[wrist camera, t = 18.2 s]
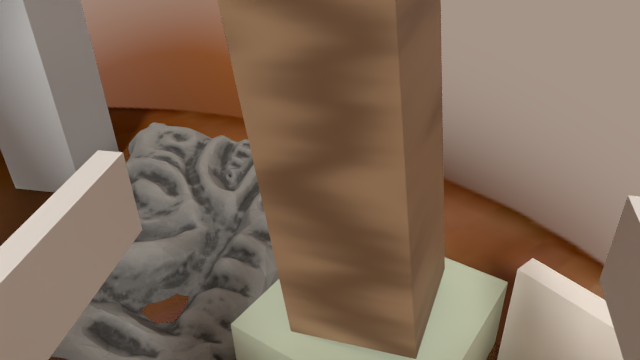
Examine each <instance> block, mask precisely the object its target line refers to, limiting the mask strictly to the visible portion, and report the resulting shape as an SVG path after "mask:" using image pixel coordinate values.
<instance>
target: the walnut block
mask: <svg viewBox="0 0 640 360" xmlns="http://www.w3.org/2000/svg"><path fill="white" fill-rule="evenodd" d="M218 5H219V9H220V14H221V19H222V23H223V27H224V32H225V36H226V41H227V45H228V50H229V55H230V59H231V64H232V68H233V73H234V77H235V82H236V86H237V91H238V95H239V100H240V104H241V108H242V113H243V118H244V122H245V127H246V131H247V136H248V140H249V145H250V149H251V154H252V158H253V163H254V167H255V172H256V176H257V181H258V185H259V190H260V194H261V199H262V203H263V208H264V212H265V217H266V221H267V226H268V230H269V235H270V239H271V244H272V248H273V253H274V257H275V262H276V266H277V271H278V275H279V280H280V284H281V289H282V293H283V298H284V302H285V307H286V311H287V316H288V320H289V325H290V329H291V331H292V332H297V333H301V334H305V335H310V336H314V337H319V338H323V339H328V340H332V341H337V342H341V343H346V344H350V345H355V346H359V347H364V348H368V349H372V350H377V351H381V352H386V353H390V354H395V355H399V356H404V357H408V358H413V359H416V358H417V355H418V352H419V348H420V345H421V342H422V339H423V336H424V333H425V329H426V326H427V323H428V320H429V317H430V314H431V311H432V307H433V304H434V301H435V298H436V295H437V292H438V288H439V285H440V282H441V279H442V276H443V273H444V270H445V249H444V188H443V128H442V66H441V6H440V0H218Z"/></svg>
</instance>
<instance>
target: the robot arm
mask: <svg viewBox="0 0 640 360" xmlns="http://www.w3.org/2000/svg"><path fill="white" fill-rule="evenodd" d="M141 231H142V227H141V223H140V219H139V215H138V211H137V207H136V203H135V199H134V195H133V191H132V187H131V183H130V179H129V175H128V171H127V167H126V163H125V159H124V155H123V152H112V151H101V150H98V151H97V152H96V153H95V154H94V155H93V156H92V157H91V158H90V159H89V160H88V161H86V162H85V163H84V164H83V165H82V166H81V167H80V168H79V169H78V170H77V171H76V172H75V173H74V174H73V175H72V176H71V177H70V178H69V179H68V180H67V181H66V182H65V183H64V184H63V185H62V186H61V187H60V188H59V189H58V190H57V191H56V192H55V193H54V194H53V195H52V196H51V197H50V198H49V199H48V200H47V201H46V202H45V203H44V204H43V205H42V206H41V207H40V208H39V209H38V210H37V211H36V212H35V213H34V214H33V215H32V216H31V217H30V218H29V219H28V220H27V221H26V222H25V223H24V224H23V225H22V226H21V227H19V228H18V229H17V230H16V231H15V232H14V233H13V234H12V235H11V236H10V237H9V238H8V239H7V240H6V241H5V242H4V243H3V244H0V360H48V359H49V358H50V357H51V355H52V354H53V353H54V351H55V350H56V348H57V347H58V346H59V344H60V343H61V341H62V340H63V339H64V337H65V336H66V335H67V333H68V332H69V330H70V329H71V328H72V326H73V325H74V324H75V322H76V321H77V319H78V318H79V317H80V315H81V314H82V312H83V311H84V310H85V308H86V307H87V306H88V304H89V303H90V301H91V300H92V299H93V297H94V296H95V295H96V293H97V292H98V290H99V289H100V288H101V286H102V285H103V283H104V282H105V281H106V279H107V278H108V277H109V275H110V274H111V272H112V271H113V270H114V268H115V267H116V266H117V264H118V263H119V261H120V260H121V259H122V257H123V256H124V254H125V253H126V252H127V250H128V249H129V248H130V246H131V245H132V243H133V242H134V241H135V239H136V238H137V236H138V235H139V234H140V232H141ZM599 281H600V284H601V287H602V290H603V294H604V297H605V300H606V304H607V307H608V310H609V314H610V317H611V320H612V324H613V327H614V330H615V333H616V337H617V340H618V343H619V347H620V350H621V353H622V357H623V360H640V197H639V196H628V197H627V200H626V203H625V206H624V209H623V212H622V215H621V218H620V221H619V224H618V227H617V230H616V233H615V236H614V239H613V242H612V245H611V248H610V251H609V253H608V256H607V259H606V262H605V265H604V268H603V271H602V274H601V277H600V280H599Z"/></svg>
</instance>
